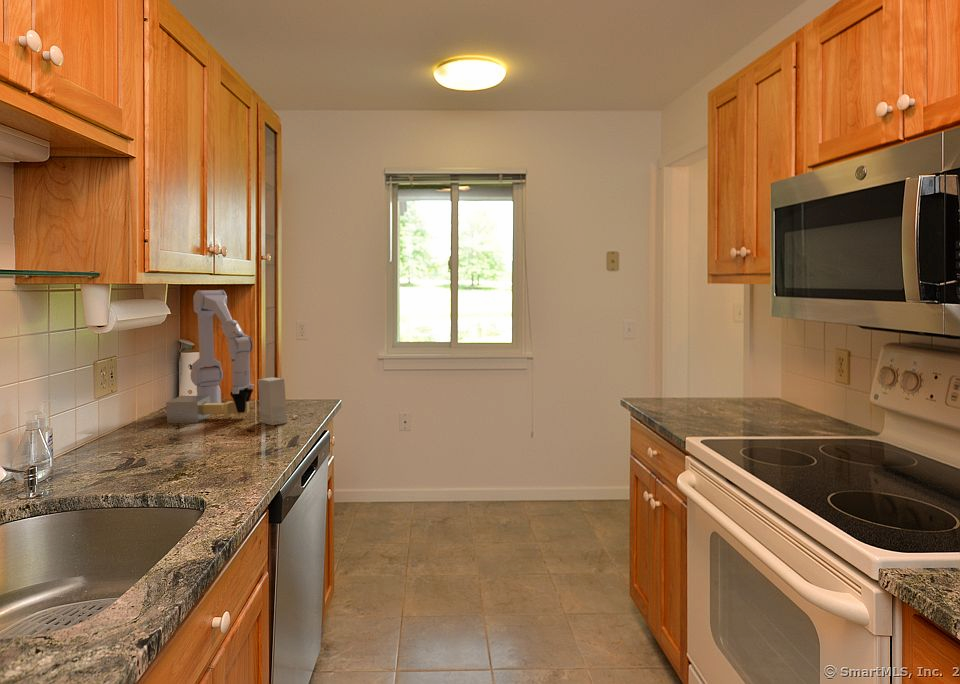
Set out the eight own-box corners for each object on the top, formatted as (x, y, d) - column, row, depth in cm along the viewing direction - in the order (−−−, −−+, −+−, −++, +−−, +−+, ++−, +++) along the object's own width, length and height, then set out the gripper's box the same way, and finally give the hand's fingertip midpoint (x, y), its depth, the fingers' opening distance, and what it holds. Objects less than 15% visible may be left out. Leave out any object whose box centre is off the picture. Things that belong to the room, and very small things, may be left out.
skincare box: (287, 423, 216) (286, 378, 215) (270, 426, 212) (268, 380, 211) (275, 419, 222) (274, 376, 221) (258, 422, 218) (257, 378, 217)
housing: (181, 415, 229) (180, 395, 228) (210, 415, 230) (210, 395, 229) (167, 423, 217) (166, 402, 217) (198, 422, 218) (197, 401, 217)
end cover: (206, 415, 227) (205, 401, 226) (251, 414, 228) (250, 400, 227) (200, 419, 221) (199, 404, 220) (246, 418, 222) (245, 403, 221)
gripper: (246, 374, 216) (248, 415, 217) (259, 368, 230) (260, 407, 232) (225, 375, 216) (226, 415, 217) (238, 369, 230) (240, 407, 231)
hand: (242, 411), depth 224 cm, fingers closed on end cover, 3 cm apart
